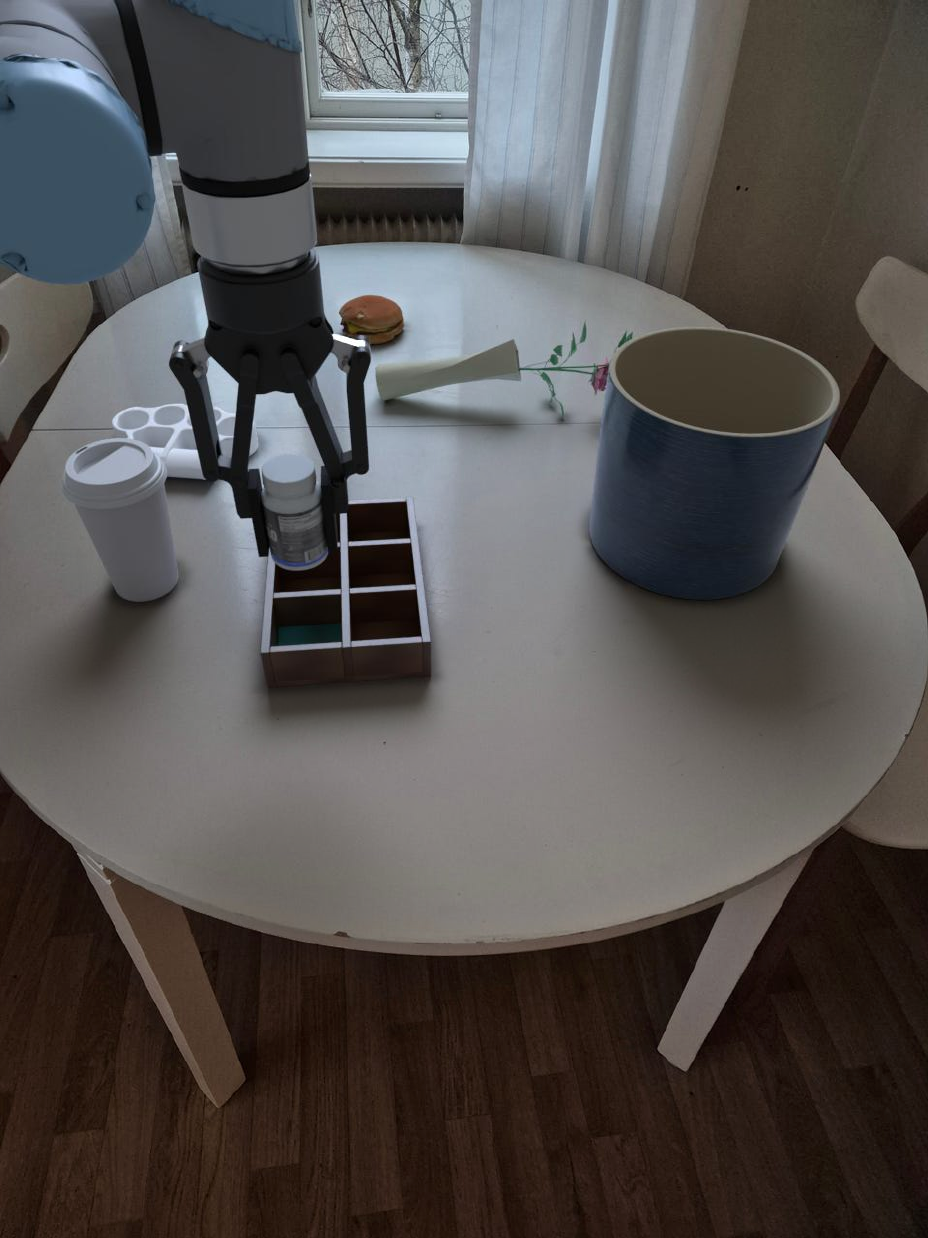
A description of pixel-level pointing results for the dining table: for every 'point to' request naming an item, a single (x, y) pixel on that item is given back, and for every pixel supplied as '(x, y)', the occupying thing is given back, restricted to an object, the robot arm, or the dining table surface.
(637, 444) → the planter
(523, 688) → the dining table surface
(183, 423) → the knuckle duster
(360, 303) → the burger
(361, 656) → the grid
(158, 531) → the coffee cup
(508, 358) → the flower vase
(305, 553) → the pill bottle
